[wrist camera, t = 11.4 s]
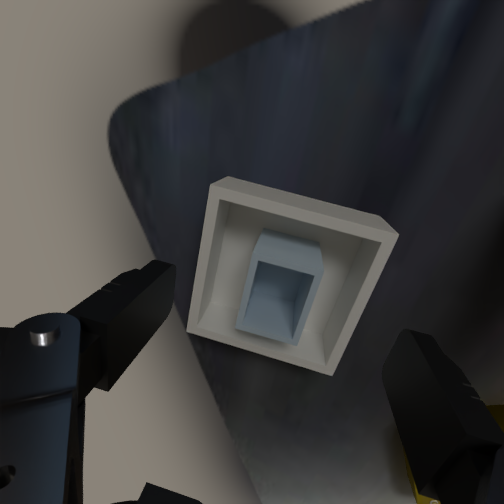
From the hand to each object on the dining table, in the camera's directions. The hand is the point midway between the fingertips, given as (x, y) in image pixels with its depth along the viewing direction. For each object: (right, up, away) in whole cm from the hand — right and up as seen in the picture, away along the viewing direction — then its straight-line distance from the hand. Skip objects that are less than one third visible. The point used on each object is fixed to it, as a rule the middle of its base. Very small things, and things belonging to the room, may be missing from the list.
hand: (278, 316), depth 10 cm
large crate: (+2, +1, +22) cm, 22 cm away
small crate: (+2, +1, +21) cm, 21 cm away
